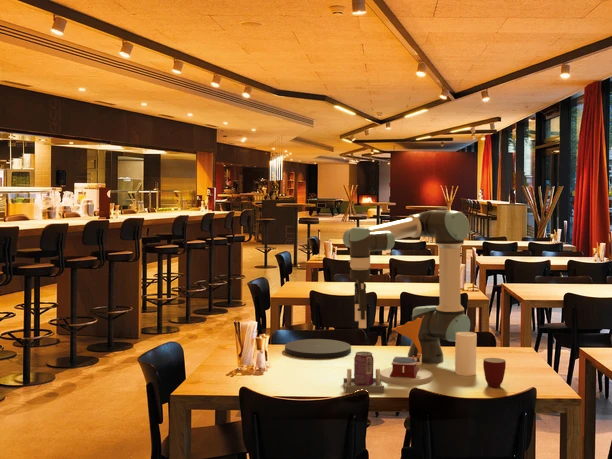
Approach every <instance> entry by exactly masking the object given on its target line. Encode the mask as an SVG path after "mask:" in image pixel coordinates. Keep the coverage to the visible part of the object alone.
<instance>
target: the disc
mask: <svg viewBox="0 0 612 459" xmlns="http://www.w3.org/2000/svg"><path fill="white" fill-rule="evenodd" d="M284 352H285V354H286V355H288V356H291V357H293V358H298V359H299V358H300V359H307V360H308V359H309V360H331V359H338V358H343V357H346V356H349V355H350V354H351V353H352V345H351V344H350V343H349V342H348V343H347V342H345V341H343V340H342V341H341V340H336V339H325V338H307V339H297V340H292V341H289V342H286V343H285V345H284Z"/></svg>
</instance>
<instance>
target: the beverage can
mask: <svg viewBox="0 0 612 459" xmlns="http://www.w3.org/2000/svg"><path fill="white" fill-rule="evenodd" d="M353 359H354V360H353V361H354V362H353V363H354V364H353V366H354V367H353V370H354V372H353V378H354V384H356V385H357V386H370V385H372V384H373V378H374V356H373V352H372V351H371V352H370V351H356V352H355V356H354V358H353Z"/></svg>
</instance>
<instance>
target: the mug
mask: <svg viewBox="0 0 612 459" xmlns="http://www.w3.org/2000/svg"><path fill="white" fill-rule="evenodd" d="M482 364H483V365H482V366H483V372H484V373H483V374H484V378H485V379H484V380H485V382H486V384H487V386H488V387H489V388H492V389H493V388H494V389H496V388H500V387H501V385H502V384H503V381H504V378H505V373H506V364H507V363H506V359H504V358H500V357H486V358H484V359H483V363H482Z"/></svg>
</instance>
